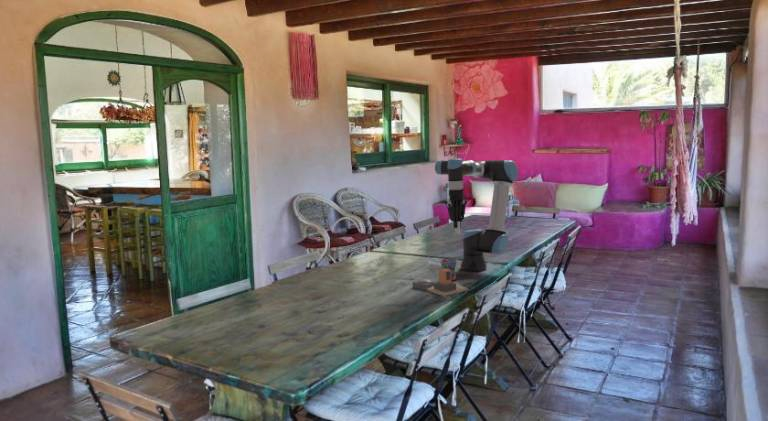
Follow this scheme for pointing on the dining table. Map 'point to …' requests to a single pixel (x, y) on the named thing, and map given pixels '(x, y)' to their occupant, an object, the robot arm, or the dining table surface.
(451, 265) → the mug
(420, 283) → the grey domed square block
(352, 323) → the dining table surface
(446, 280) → the plug
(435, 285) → the board
